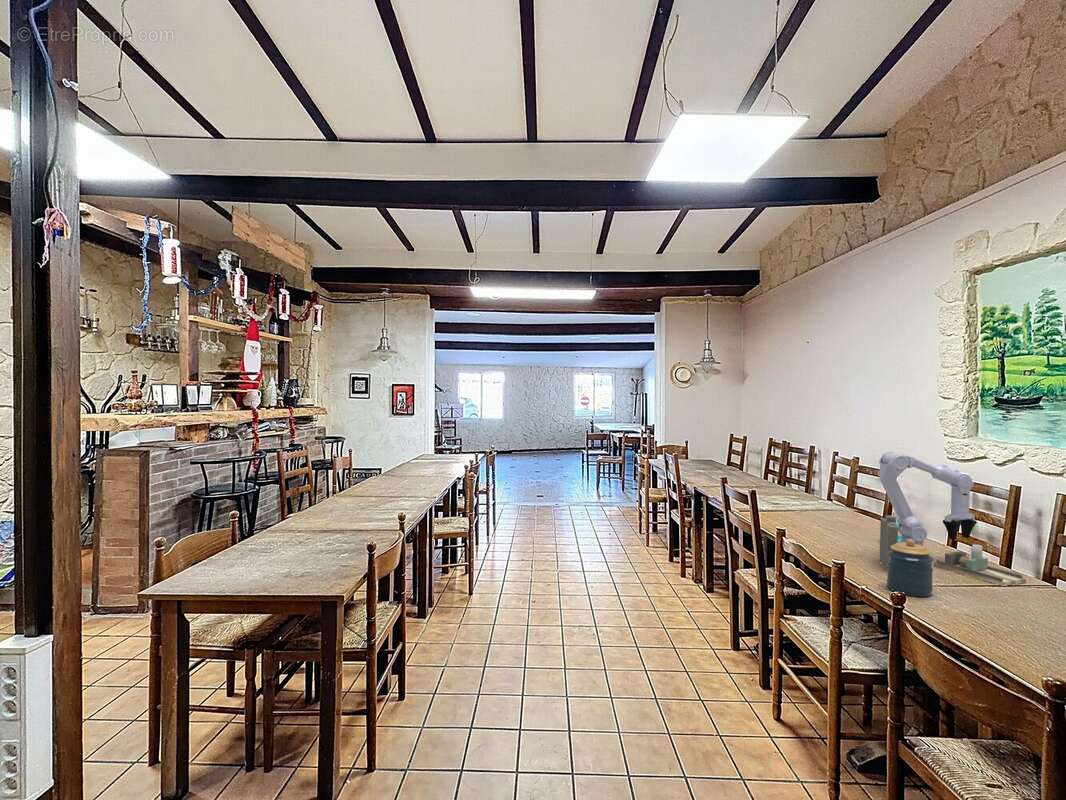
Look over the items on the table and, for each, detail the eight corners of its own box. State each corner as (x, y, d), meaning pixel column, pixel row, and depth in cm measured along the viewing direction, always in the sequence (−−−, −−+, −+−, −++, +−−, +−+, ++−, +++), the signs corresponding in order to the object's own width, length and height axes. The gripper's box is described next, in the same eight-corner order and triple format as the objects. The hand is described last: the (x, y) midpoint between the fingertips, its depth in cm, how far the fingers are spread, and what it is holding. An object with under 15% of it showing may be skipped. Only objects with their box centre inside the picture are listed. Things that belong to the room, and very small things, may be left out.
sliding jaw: (973, 571, 207) (973, 547, 207) (964, 569, 210) (964, 545, 210) (989, 569, 210) (989, 545, 210) (980, 567, 213) (980, 543, 213)
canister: (922, 586, 196) (923, 535, 195) (940, 599, 183) (941, 545, 183) (880, 582, 199) (881, 532, 198) (895, 595, 186) (896, 542, 186)
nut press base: (1004, 586, 196) (1004, 570, 196) (933, 566, 219) (934, 551, 218) (1025, 583, 200) (1026, 567, 200) (954, 563, 223) (955, 549, 223)
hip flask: (878, 561, 224) (880, 511, 223) (890, 562, 222) (891, 512, 222) (887, 573, 209) (889, 519, 209) (900, 575, 207) (902, 520, 207)
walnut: (967, 568, 211) (967, 558, 211) (956, 565, 215) (956, 555, 215) (974, 567, 212) (974, 557, 212) (963, 564, 216) (963, 554, 216)
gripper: (958, 507, 214) (957, 542, 214) (983, 504, 219) (982, 539, 219) (939, 503, 220) (938, 538, 221) (964, 501, 226) (963, 535, 226)
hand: (959, 538), depth 220 cm, fingers open, 7 cm apart
